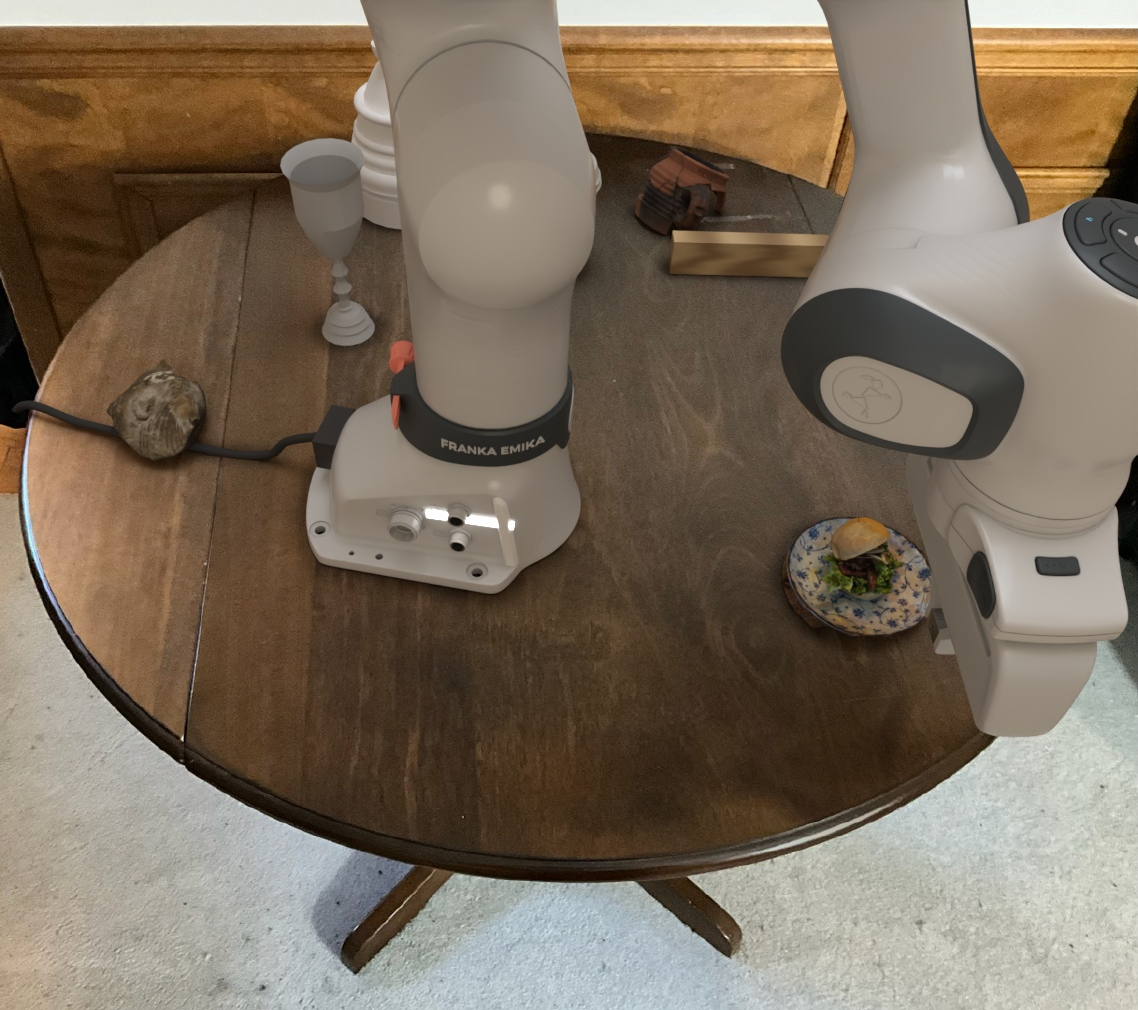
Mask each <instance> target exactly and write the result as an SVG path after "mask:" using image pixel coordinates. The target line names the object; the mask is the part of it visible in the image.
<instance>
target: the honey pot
mask: <svg viewBox="0 0 1138 1010" xmlns="http://www.w3.org/2000/svg"><path fill="white" fill-rule="evenodd" d="M370 47H371V50H372V53H373V55H374V56H375V58H376V59H377V60H378V61H377V62H376V64H375V65H374V67H373V69H372V70H371V73H370V74H369V77H368V80H367V81H366V82H364V83H363V84H362V85H361V86H360V87H358V88H357V91H356V92H355V94H354V95H353V107H354V109H355V110H356V112H357V117H356V118H355V120H354V121H353V129H352V131H353V132H352V135H351V141H350V143H353V144H355V145H356V146H357V147H359V148H360V149H361V151H362V153H363V155H364V163H363V166H362V168H361V171H360V175H361V183H362V191H363V199H364V214H363V218H364V219H366V220H367V221H369V222H370V223H372V224H375V225H379V226H382V227H384V228H387V229H395V230H401V221H400V211H399V202H398V191H397V179H396V167H395V155H394V143H393V134H392V125H391V117H390V110H389V102H388V96H387V90H386V85H385V80H384V75H383V71H382V68H381V64H380V61H379V57H378V54H377V51H376V47H375V44H374V41H373V39H372V40H371V41H370Z"/></svg>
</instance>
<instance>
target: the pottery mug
mask: <svg viewBox="0 0 1138 1010" xmlns="http://www.w3.org/2000/svg"><path fill="white" fill-rule="evenodd" d="M648 176H649V178H648V179H647V182H646V184H645V189H644V190H643V192H641V193H639V194H638V196H637V199H636V205H635V208H634V214H635V215H636V217H637V218H638V219H639V220H640V221H642V222H643V224H644V225H646V226H647V227H648V228H650V229H652V230H653V231H656V232H657V233H660V234H661V235H664V236H667V235H668V233H669V230H670V227H671V226H672V224H674V226H675V228H676V229H677V231H695V229H696V227H697V225H699V224H700V222H702V220H703V219H704V218H705V215H706V213H707V211H708V210H709V206H710V194H711V192H712V193H713V194H714V195H715V197H716V201H715V205H714V210H715V212H716V213H717V212H718V213H722V212H723V210H724V208H725V205H726V202H727V198H726V197H727V189H726V185H727V182H728V181H729V180H730V176H729V175H728V174H727V173H726V172H725V171H724V170H723V169H722V168H720V167H719V166H718V165H715V164H714V163H713V162H710V161H709V160H707V159H705V158H703V157H701V156H699V155H697V154H696V153H693V152H692V151H689V150H687V149H684V148H683V147H679V146H677V145H670V146H669V147H668V152H667V154H666V155H664V156H661V157H660V158H658V159H656V160H655V161H654V162H653V163H652V164H651V169H650V170H649V173H648ZM677 189H679V190H681V192H680V196H679V195H678V196H676V192H677ZM710 191H711V192H710Z"/></svg>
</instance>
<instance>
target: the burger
mask: <svg viewBox="0 0 1138 1010" xmlns="http://www.w3.org/2000/svg"><path fill="white" fill-rule="evenodd" d="M856 510H857V516H833V517H829V518H825V519H820V520H816V521H814V522H813V523H812V524H810V525H807V526H806V527H805V528H803V529H802V530H801V531H800V532H799V533H798V534H797V536H795V537H794V540H793V541H792V543H791V544H790V546H789V549H788V552H787V554H786V555H785V558H784V560H783V564H782V569H781V582H782V585H783V591H784V593H785V596H786V598H787V600H788V602H789V604H790V605H791V607H792V609H793V610H794V612H795V613H796V614H797V615H799V616H800V617H801V618H803V620H804V622H805V623H806V624H807V625H808V626H809V627H811V628H812V629H815V630H816V629H817V628H821V627H822V626H826V627H827V628H828V627H829V628H830V629H833V630H835V631H836V632H839V633H843V634H845V636H846V635H847V636H851V637H853V636H854V637H855V636H868V637H875V638H876V637H878V638H880V637H887V636H892V635H898V634H900V633H903V632H904V631H906V630H910V629H911V628H915V627H916V626H919V625H920V624H921V623H922V622H923V621H924V619H926V617H925V611H926V609H927V607H928V605H929V603H930V591H931V574H932V571H931V568H930V564H929V561H928V558H926V555H925V554H926V553H925V552H924V551H923V550H922V549H920V548H919V547H918V545H917V543H916V542H915V541H913V540H912V539H911V538H910V537H908V536H906V535H905V534H904V533H902V532H900V531H898V530H896V529H894V528H893V527H891V526H889V525H886V524H884V523H881V522H880V521H878V520H876V519H873V518H870V517H865V516H864V517H863V516H861V517H860V506H859V502H857V509H856Z"/></svg>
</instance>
